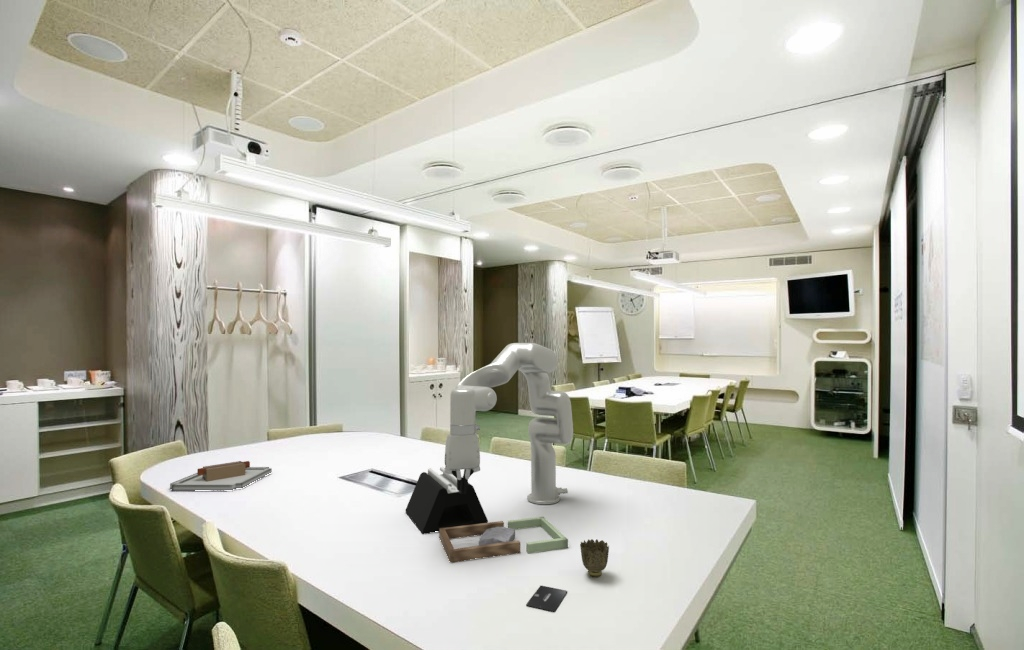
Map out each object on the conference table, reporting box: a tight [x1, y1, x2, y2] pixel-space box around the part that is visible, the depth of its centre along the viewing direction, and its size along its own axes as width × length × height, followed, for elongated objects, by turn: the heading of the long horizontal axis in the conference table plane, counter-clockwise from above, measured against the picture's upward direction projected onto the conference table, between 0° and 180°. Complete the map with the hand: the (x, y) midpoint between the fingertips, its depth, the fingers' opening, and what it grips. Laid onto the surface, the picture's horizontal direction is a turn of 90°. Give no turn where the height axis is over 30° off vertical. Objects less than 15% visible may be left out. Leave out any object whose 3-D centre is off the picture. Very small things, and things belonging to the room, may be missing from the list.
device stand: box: [405, 466, 489, 535], centre depth 170 cm, size 22×22×15 cm
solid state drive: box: [525, 585, 568, 613], centre depth 116 cm, size 7×10×1 cm
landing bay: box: [507, 516, 569, 554], centre depth 152 cm, size 12×20×2 cm, turn 18°
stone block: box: [478, 526, 516, 546], centre depth 148 cm, size 12×5×10 cm
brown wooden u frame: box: [438, 520, 521, 563], centre depth 146 cm, size 20×18×3 cm
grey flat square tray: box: [169, 460, 273, 492], centre depth 216 cm, size 30×30×8 cm
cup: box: [579, 538, 610, 579], centre depth 127 cm, size 8×7×8 cm
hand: (462, 492), depth 145 cm, fingers closed
